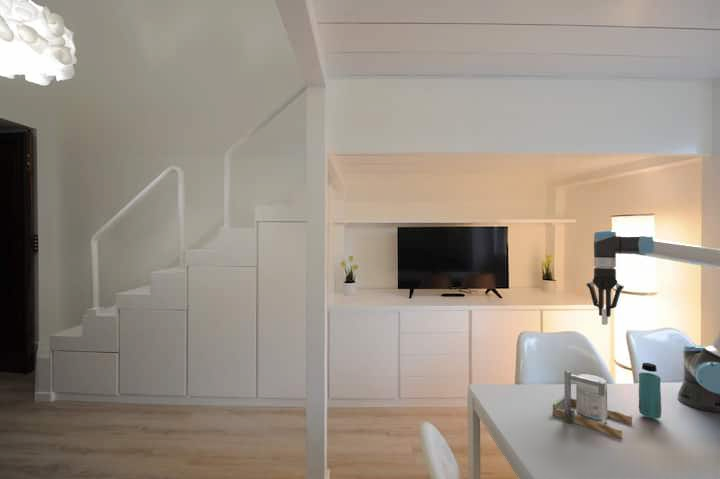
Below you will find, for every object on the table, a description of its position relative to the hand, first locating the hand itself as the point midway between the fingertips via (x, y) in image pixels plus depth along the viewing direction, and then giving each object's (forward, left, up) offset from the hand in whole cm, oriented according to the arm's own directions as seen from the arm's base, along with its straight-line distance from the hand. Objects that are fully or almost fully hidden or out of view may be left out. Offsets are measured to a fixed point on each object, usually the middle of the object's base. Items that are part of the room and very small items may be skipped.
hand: (604, 324), depth 147 cm
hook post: (-2, +34, -30) cm, 46 cm away
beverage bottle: (-16, +9, -31) cm, 36 cm away
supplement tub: (-2, +25, -31) cm, 40 cm away
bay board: (-2, +26, -30) cm, 40 cm away
